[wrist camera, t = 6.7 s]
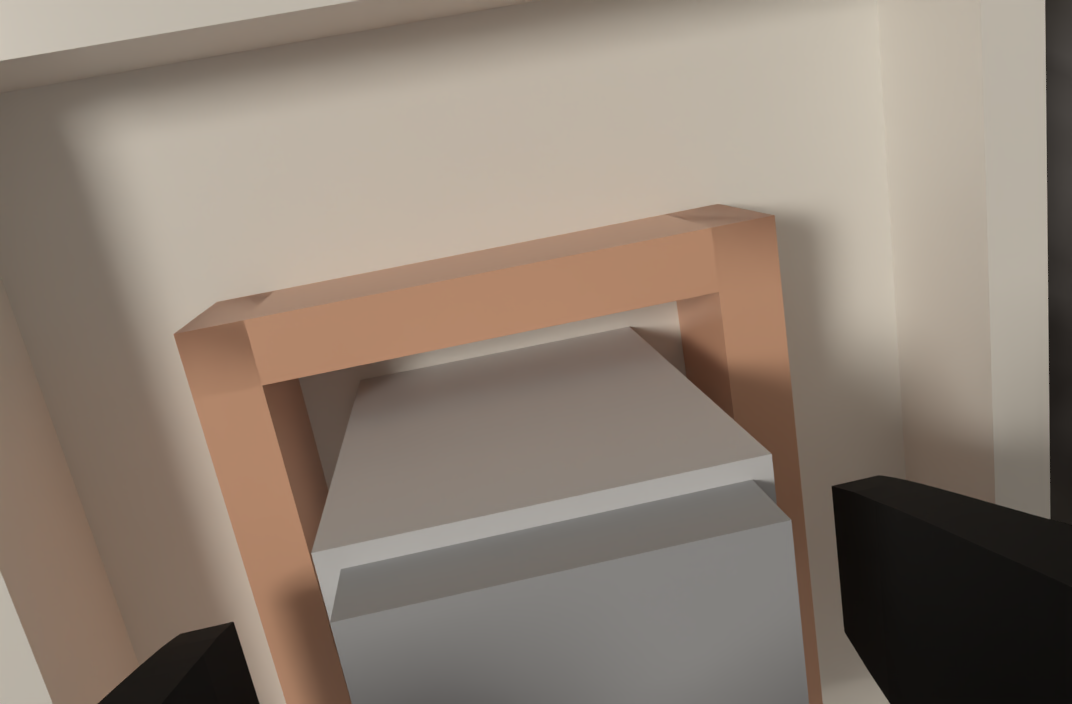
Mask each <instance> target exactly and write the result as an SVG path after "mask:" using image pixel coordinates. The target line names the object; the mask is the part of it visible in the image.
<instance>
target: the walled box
mask: <svg viewBox="0 0 1072 704" xmlns="http://www.w3.org/2000/svg"><path fill="white" fill-rule="evenodd" d="M624 327H630V328H631V329H632V330H634V331H635V332H636V333H637V334H638V335H639V336H640V337H641V338H643V339H644V340H645V341H646V342H647V343H648V344H649V345H650V346H652V347H653V348H654V349H655V350H656V351H657V352H658V353H659V354H660V355H662V356H663V357H664V358H665V359H666V360H667V361H668V362H669V363H671V364H672V365H673V366H674V367H675V368H676V369H677V370H678V371H680V372H681V373H682V374H683V375H684V376H685V377H686V378H687V379H688V380H690V381H691V382H692V383H693V384H694V385H695V386H696V387H697V388H699V389H700V390H701V391H702V392H703V393H704V394H705V395H706V396H708V397H709V398H710V399H711V400H712V401H713V402H714V403H715V404H716V405H718V406H719V407H720V408H721V409H722V410H723V411H724V412H725V413H727V414H728V415H729V416H730V417H731V418H732V419H733V420H734V421H736V422H737V423H738V424H739V425H740V426H741V427H742V428H743V429H744V430H746V431H747V432H748V433H749V434H750V435H751V436H752V437H753V438H755V439H756V440H757V441H758V442H759V443H760V444H761V445H762V446H764V447H765V448H766V449H767V450H768V451H769V452H770V453H771V454H772V461H773V471H774V481H775V491H776V501H777V506H778V507H779V508H780V509H781V510H782V511H783V512H784V513H785V514H786V515H787V516H788V517H789V518H790V519H791V522H792V532H793V542H794V553H795V563H796V574H797V584H798V594H799V605H800V615H801V625H802V636H803V646H804V657H805V667H806V677H807V688H808V698H809V704H890V703H889V701H888V700H887V698H886V697H885V695H884V694H883V692H882V691H881V689H880V688H879V686H878V685H877V683H876V682H875V680H874V679H873V677H872V676H871V674H870V673H869V671H868V670H867V668H866V666H865V665H864V663H863V661H862V660H861V658H860V657H859V655H858V653H857V652H856V650H855V648H854V647H853V645H852V644H851V642H850V640H849V639H848V637H847V635H846V634H845V632H844V623H843V612H842V600H841V589H840V578H839V566H838V555H837V544H836V532H835V521H834V510H833V498H832V487H831V486H833V485H838V484H842V483H847V482H851V481H855V480H860V479H864V478H869V477H873V476H878V475H882V476H888V477H894V478H899V479H904V480H908V481H913V482H917V483H921V484H925V485H928V486H932V487H936V488H940V489H944V490H947V491H951V492H954V493H958V494H962V495H965V496H969V497H972V498H976V499H979V500H983V501H986V502H990V503H993V504H997V505H1000V506H1004V507H1008V508H1011V509H1015V510H1018V511H1022V512H1025V513H1029V514H1033V515H1036V516H1040V517H1043V518H1047V519H1050V433H1049V335H1048V238H1047V140H1046V43H1045V0H0V704H98V703H99V702H100V701H101V700H102V699H103V698H104V697H105V696H106V695H108V694H109V693H110V692H111V691H112V690H113V689H114V688H115V687H116V686H118V685H119V684H120V683H121V682H122V681H123V680H124V679H125V678H127V677H128V676H129V675H130V674H131V673H132V672H133V671H134V670H135V669H137V668H138V667H139V666H140V665H141V664H142V663H144V662H145V661H146V660H147V659H148V658H149V657H151V656H152V655H153V654H154V653H155V652H156V651H158V650H159V649H160V648H161V647H163V646H164V645H165V644H166V643H168V642H169V641H171V640H172V639H173V638H175V637H176V636H178V635H179V634H181V633H185V632H190V631H194V630H198V629H203V628H207V627H212V626H216V625H221V624H225V623H229V622H234V624H235V627H236V631H237V634H238V637H239V640H240V643H241V646H242V650H243V653H244V656H245V659H246V662H247V665H248V669H249V672H250V675H251V678H252V681H253V684H254V688H255V691H256V694H257V697H258V700H259V703H260V704H352V702H351V699H350V695H349V691H348V688H347V684H346V680H345V677H344V673H343V669H342V666H341V662H340V658H339V655H338V651H337V647H336V644H335V640H334V636H333V633H332V629H331V625H330V621H329V617H328V613H327V610H326V606H325V602H324V599H323V595H322V591H321V587H320V584H319V580H318V576H317V573H316V569H315V565H314V562H313V558H312V554H311V552H312V548H313V545H314V541H315V538H316V534H317V531H318V527H319V524H320V520H321V517H322V513H323V510H324V506H325V503H326V499H327V496H328V492H329V489H330V485H331V482H332V478H333V475H334V471H335V468H336V464H337V461H338V457H339V454H340V450H341V447H342V443H343V440H344V436H345V433H346V429H347V426H348V422H349V419H350V415H351V412H352V408H353V404H354V401H355V397H356V394H357V390H358V387H359V383H360V380H363V379H368V378H373V377H378V376H383V375H388V374H393V373H398V372H403V371H408V370H413V369H418V368H424V367H429V366H434V365H439V364H444V363H449V362H454V361H459V360H464V359H469V358H474V357H479V356H484V355H489V354H494V353H499V352H504V351H509V350H514V349H519V348H524V347H529V346H534V345H539V344H544V343H549V342H554V341H559V340H564V339H569V338H574V337H579V336H584V335H589V334H594V333H599V332H604V331H609V330H614V329H619V328H624Z"/></svg>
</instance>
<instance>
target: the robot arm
mask: <svg viewBox="0 0 1072 704" xmlns="http://www.w3.org/2000/svg"><path fill="white" fill-rule="evenodd" d="M831 487H832V498H833V510H834V521H835V532H836V544H837V555H838V566H839V578H840V589H841V600H842V612H843V623H844V632H845V634H846V635H847V637H848V639H849V640H850V642H851V644H852V645H853V647H854V648H855V650H856V652H857V653H858V655H859V657H860V658H861V660H862V661H863V663H864V665H865V666H866V668H867V670H868V671H869V673H870V674H871V676H872V677H873V679H874V680H875V682H876V683H877V685H878V686H879V688H880V689H881V691H882V692H883V694H884V695H885V697H886V698H887V700H888V701H889V703H890V704H1072V525H1069V524H1066V523H1062V522H1058V521H1054V520H1051V519H1047V518H1043V517H1040V516H1036V515H1033V514H1029V513H1025V512H1022V511H1018V510H1015V509H1011V508H1008V507H1004V506H1000V505H997V504H993V503H990V502H986V501H983V500H979V499H976V498H972V497H969V496H965V495H962V494H958V493H954V492H951V491H947V490H944V489H940V488H936V487H932V486H928V485H925V484H921V483H917V482H913V481H908V480H904V479H899V478H894V477H888V476H882V475H878V476H873V477H869V478H864V479H860V480H855V481H851V482H847V483H842V484H838V485H833V486H831ZM98 704H260V703H259V700H258V697H257V694H256V691H255V688H254V684H253V681H252V678H251V675H250V672H249V669H248V665H247V662H246V659H245V656H244V653H243V650H242V646H241V643H240V640H239V637H238V634H237V631H236V627H235V624H234V622H229V623H225V624H221V625H216V626H212V627H207V628H203V629H198V630H194V631H190V632H185V633H181V634H179V635H178V636H176V637H175V638H173V639H172V640H171V641H169V642H168V643H166V644H165V645H164V646H163V647H161V648H160V649H159V650H158V651H156V652H155V653H154V654H153V655H152V656H151V657H149V658H148V659H147V660H146V661H145V662H144V663H142V664H141V665H140V666H139V667H138V668H137V669H135V670H134V671H133V672H132V673H131V674H130V675H129V676H128V677H127V678H125V679H124V680H123V681H122V682H121V683H120V684H119V685H118V686H116V687H115V688H114V689H113V690H112V691H111V692H110V693H109V694H108V695H106V696H105V697H104V698H103V699H102V700H101V701H100V702H99V703H98Z"/></svg>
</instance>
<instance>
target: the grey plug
mask: <svg viewBox="0 0 1072 704" xmlns="http://www.w3.org/2000/svg"><path fill="white" fill-rule="evenodd" d="M311 554H312V558H313V562H314V565H315V569H316V573H317V576H318V580H319V584H320V587H321V591H322V595H323V599H324V602H325V606H326V610H327V613H328V617H329V621H330V625H331V629H332V633H333V636H334V640H335V644H336V647H337V651H338V655H339V658H340V662H341V666H342V669H343V673H344V677H345V680H346V684H347V688H348V691H349V695H350V699H351V702H352V704H809V698H808V688H807V677H806V667H805V657H804V646H803V636H802V625H801V615H800V605H799V594H798V584H797V574H796V563H795V553H794V542H793V532H792V522H791V519H790V518H789V517H788V516H787V515H786V514H785V513H784V512H783V511H782V510H781V509H780V508H779V507H778V506H777V501H776V491H775V481H774V471H773V461H772V454H771V453H770V452H769V451H768V450H767V449H766V448H765V447H764V446H762V445H761V444H760V443H759V442H758V441H757V440H756V439H755V438H753V437H752V436H751V435H750V434H749V433H748V432H747V431H746V430H744V429H743V428H742V427H741V426H740V425H739V424H738V423H737V422H736V421H734V420H733V419H732V418H731V417H730V416H729V415H728V414H727V413H725V412H724V411H723V410H722V409H721V408H720V407H719V406H718V405H716V404H715V403H714V402H713V401H712V400H711V399H710V398H709V397H708V396H706V395H705V394H704V393H703V392H702V391H701V390H700V389H699V388H697V387H696V386H695V385H694V384H693V383H692V382H691V381H690V380H688V379H687V378H686V377H685V376H684V375H683V374H682V373H681V372H680V371H678V370H677V369H676V368H675V367H674V366H673V365H672V364H671V363H669V362H668V361H667V360H666V359H665V358H664V357H663V356H662V355H660V354H659V353H658V352H657V351H656V350H655V349H654V348H653V347H652V346H650V345H649V344H648V343H647V342H646V341H645V340H644V339H643V338H641V337H640V336H639V335H638V334H637V333H636V332H635V331H634V330H632V329H631V328H630V327H624V328H619V329H614V330H609V331H604V332H599V333H594V334H589V335H584V336H579V337H574V338H569V339H564V340H559V341H554V342H549V343H544V344H539V345H534V346H529V347H524V348H519V349H514V350H509V351H504V352H499V353H494V354H489V355H484V356H479V357H474V358H469V359H464V360H459V361H454V362H449V363H444V364H439V365H434V366H429V367H424V368H418V369H413V370H408V371H403V372H398V373H393V374H388V375H383V376H378V377H373V378H368V379H363V380H360V383H359V387H358V390H357V394H356V397H355V401H354V404H353V408H352V412H351V415H350V419H349V422H348V426H347V429H346V433H345V436H344V440H343V443H342V447H341V450H340V454H339V457H338V461H337V464H336V468H335V471H334V475H333V478H332V482H331V485H330V489H329V492H328V496H327V499H326V503H325V506H324V510H323V513H322V517H321V520H320V524H319V527H318V531H317V534H316V538H315V541H314V545H313V548H312V552H311Z"/></svg>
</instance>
